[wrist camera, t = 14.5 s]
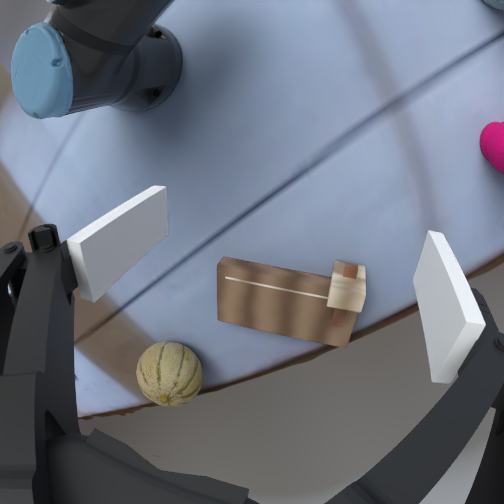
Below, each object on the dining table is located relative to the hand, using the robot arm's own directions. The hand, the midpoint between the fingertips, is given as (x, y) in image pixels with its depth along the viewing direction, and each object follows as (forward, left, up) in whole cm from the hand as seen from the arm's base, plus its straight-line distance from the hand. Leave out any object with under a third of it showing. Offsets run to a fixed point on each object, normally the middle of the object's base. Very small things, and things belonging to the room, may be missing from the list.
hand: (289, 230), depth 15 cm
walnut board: (-3, -28, -32) cm, 42 cm away
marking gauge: (+6, -22, -31) cm, 39 cm away
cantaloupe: (-25, -50, -32) cm, 64 cm away
